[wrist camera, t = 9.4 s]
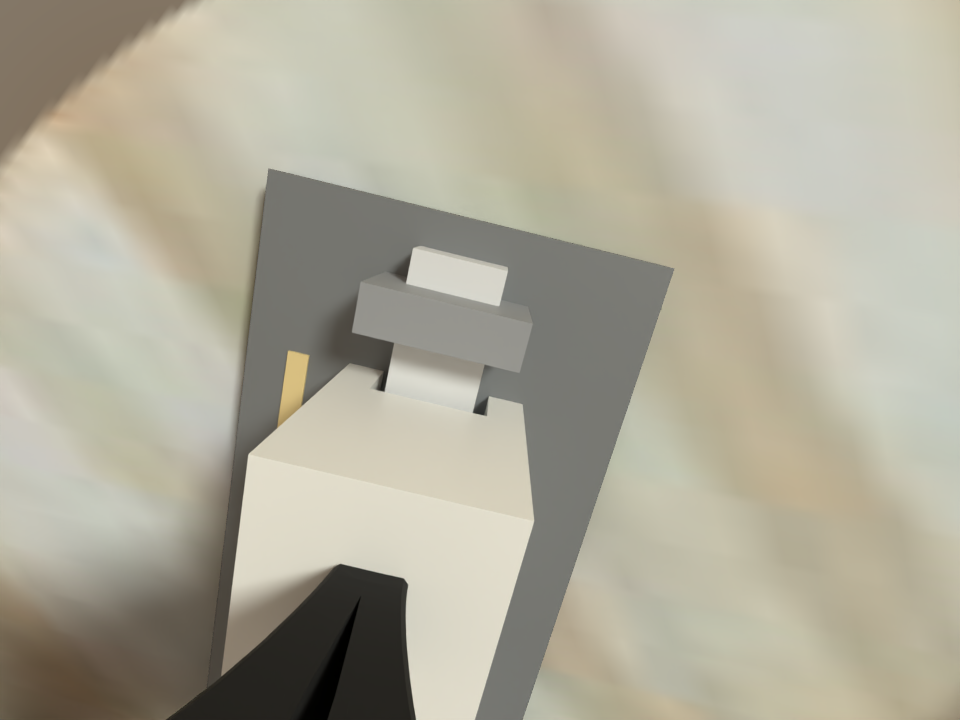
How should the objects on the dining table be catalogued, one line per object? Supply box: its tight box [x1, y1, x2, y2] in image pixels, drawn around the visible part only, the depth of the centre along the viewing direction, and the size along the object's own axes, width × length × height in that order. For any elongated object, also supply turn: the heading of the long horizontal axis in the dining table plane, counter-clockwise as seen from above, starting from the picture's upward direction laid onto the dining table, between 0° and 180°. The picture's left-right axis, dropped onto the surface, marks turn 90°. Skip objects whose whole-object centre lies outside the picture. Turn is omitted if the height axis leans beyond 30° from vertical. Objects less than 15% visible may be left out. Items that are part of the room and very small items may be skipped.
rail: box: [207, 169, 674, 720], centre depth 14 cm, size 22×11×7 cm, turn 167°
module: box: [221, 363, 534, 720], centre depth 12 cm, size 6×5×6 cm
